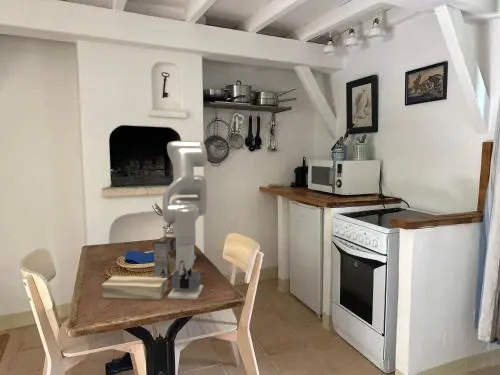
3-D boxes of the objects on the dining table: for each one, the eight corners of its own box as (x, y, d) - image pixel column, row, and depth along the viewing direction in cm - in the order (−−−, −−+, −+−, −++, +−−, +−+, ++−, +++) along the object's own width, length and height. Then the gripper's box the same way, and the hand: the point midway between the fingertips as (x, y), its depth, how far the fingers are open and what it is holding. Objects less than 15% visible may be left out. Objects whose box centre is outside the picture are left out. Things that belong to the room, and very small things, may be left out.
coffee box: (163, 270, 154) (163, 236, 152) (176, 271, 153) (176, 237, 151) (154, 278, 145) (153, 241, 143) (168, 279, 144) (167, 242, 142)
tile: (176, 286, 137) (176, 283, 137) (203, 287, 136) (203, 284, 136) (168, 297, 126) (167, 295, 126) (196, 299, 125) (196, 296, 125)
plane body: (114, 287, 135) (113, 275, 135) (167, 289, 133) (167, 277, 133) (102, 297, 126) (102, 284, 126) (159, 300, 124) (159, 287, 124)
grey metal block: (175, 283, 134) (175, 271, 133) (200, 284, 133) (200, 272, 132) (171, 288, 129) (171, 275, 128) (197, 289, 128) (197, 277, 127)
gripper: (182, 233, 137) (183, 276, 140) (168, 245, 121) (169, 294, 123) (200, 234, 137) (200, 277, 139) (189, 246, 120) (190, 295, 122)
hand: (186, 284), depth 131 cm, fingers closed on grey metal block, 4 cm apart
